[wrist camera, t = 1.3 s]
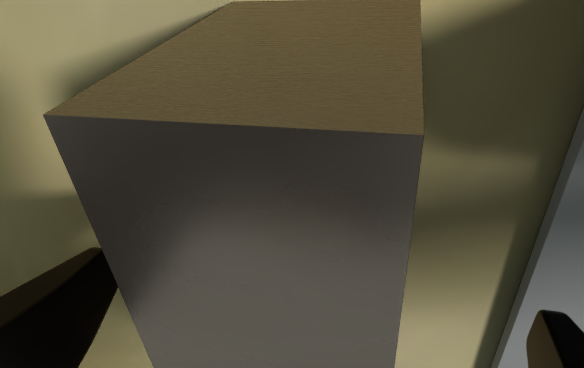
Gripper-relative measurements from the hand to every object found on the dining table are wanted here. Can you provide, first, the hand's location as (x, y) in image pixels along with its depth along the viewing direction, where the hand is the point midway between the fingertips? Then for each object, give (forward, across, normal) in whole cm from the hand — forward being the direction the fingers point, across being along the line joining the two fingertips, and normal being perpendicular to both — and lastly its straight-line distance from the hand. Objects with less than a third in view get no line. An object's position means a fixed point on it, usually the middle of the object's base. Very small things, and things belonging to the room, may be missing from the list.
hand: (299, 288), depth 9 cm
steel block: (+4, 0, 0) cm, 4 cm away
